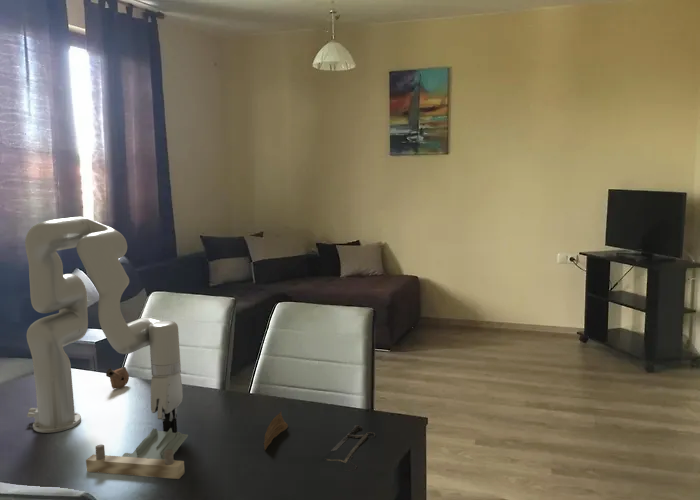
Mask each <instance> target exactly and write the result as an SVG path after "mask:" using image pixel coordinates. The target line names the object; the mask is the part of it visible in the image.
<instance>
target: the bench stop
mask: <svg viewBox="0 0 700 500" xmlns="http://www.w3.org/2000/svg"><path fill="white" fill-rule="evenodd" d="M164 454H165V460H162V459H149V458H135V457H122V456H123V455H106V452H105V445H104V444H97V445H95V454H94V453H93V454H92V455H90V456H89V457H88V458H86V459H85V465H86V472H87V473H89V472H90V473H99V474H100V473H102V474H113V475H125V476H139V477H149V478H150V477H151V478H160V479H161V478H163V479H174V480H176V479H177V480H179V479H181V477H182V476H183V475H184V474H185V473H186V472H185V461H184V460H175V459H174V455H173V450H171V449H169V450H166V451H164Z"/></svg>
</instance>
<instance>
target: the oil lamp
mask: <svg viewBox="0 0 700 500" xmlns="http://www.w3.org/2000/svg"><path fill="white" fill-rule="evenodd" d="M105 375H106V377H107V378H109V380H110V385H111V388H112V389H113V390H114V389H122V388H124V387H125V386H126V385H127V384H128V383H129V380H130V375H129V372H128V370H127V368H126V366H123V367H119V368H116V369H115V370H113V369H112V368H111V367H110V368H108V369H107V370H106V374H105Z"/></svg>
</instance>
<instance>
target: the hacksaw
mask: <svg viewBox="0 0 700 500" xmlns="http://www.w3.org/2000/svg"><path fill="white" fill-rule="evenodd" d="M362 428H363V427H362V426H361V425H360V424H356V425H354V426H353V428H352V429H351V430H350V431H348V433H347V434H346V436H344V437H343V438H342V439H341V440H340V441H339V442H337V444H336V445H335V446H333V448H332V449H331V450H330V451H331V452H332V451H337V450H339V448H341V446H343V444H345V442H347V440H348V439H349V438H353V439H359V440H358V441H357V443H355V445H354V446H353V447H352V449H350V451H349V453H348V454H347V455H346V456H345V458H344V459H330V458H325V459H326V460H325V461H328V462H333V461H335V462H341V463H344V464H347V463H348V462H349V463H350V464H352V465H353V466H355V468H354V469H350V470H347V469H345V471H346V472H347V471H348V472H352V471H353V472H354V471H355V470H357V469H358V465H356V464H355V463H353V462H352V459H353V458H354V456H353V454H355V452H356V451H357V450H358V449H359V447H361V446H362V444H363V443H364V442H365V441H366V440H367V438H374V437H375V436H376V434H375V432H373V431H372V432H371V431H370V432H366V433H365V434H356V433H357V432H359V431H362ZM369 434H374V435H373V436H370V437H369Z"/></svg>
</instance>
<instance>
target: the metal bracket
mask: <svg viewBox="0 0 700 500" xmlns="http://www.w3.org/2000/svg"><path fill="white" fill-rule="evenodd" d="M188 437H189V434H187V433H185V434H184V433H182V432H181V431H177V432H176V433H172V428H170V429H169V431H168V432H165V431H163V430H158V429H157V428H152V429H151V431H150V432H149V434H147V436H145V438H144V439H142V440H141V442H140V443H139V445H137V447H135V449H134V451H133V452H132V453H131V452H130V453H129V452H124V453H123V455H121V456H122V457H135V458H149V459H162V460H165V454H164V451H166V450H169V449H171V450H173V456H174V455H175V454H176V452H177V451H178V450H179V448H180V447H181V446H182V444H183V443H184V442H185V441H186V439H187V438H188Z"/></svg>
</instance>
